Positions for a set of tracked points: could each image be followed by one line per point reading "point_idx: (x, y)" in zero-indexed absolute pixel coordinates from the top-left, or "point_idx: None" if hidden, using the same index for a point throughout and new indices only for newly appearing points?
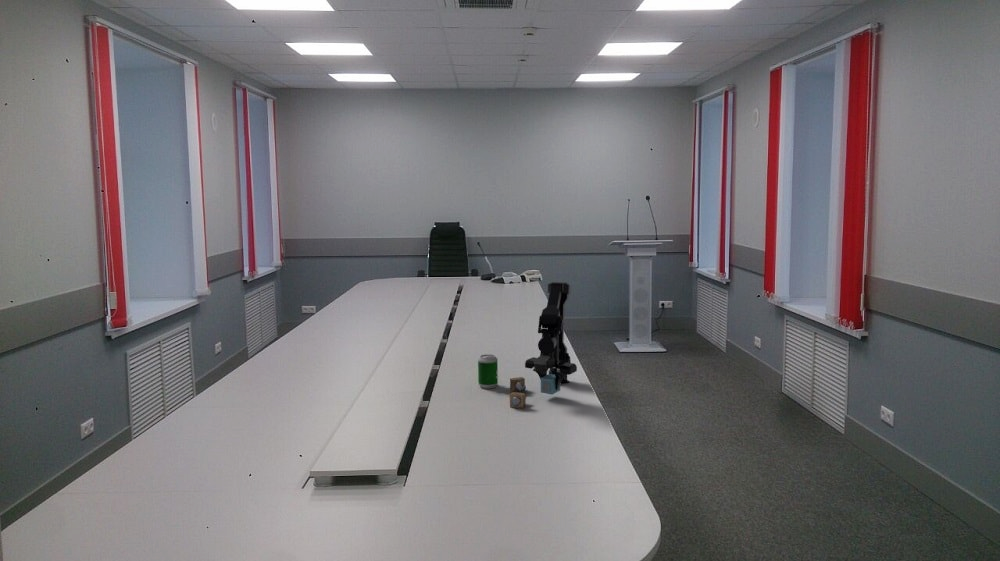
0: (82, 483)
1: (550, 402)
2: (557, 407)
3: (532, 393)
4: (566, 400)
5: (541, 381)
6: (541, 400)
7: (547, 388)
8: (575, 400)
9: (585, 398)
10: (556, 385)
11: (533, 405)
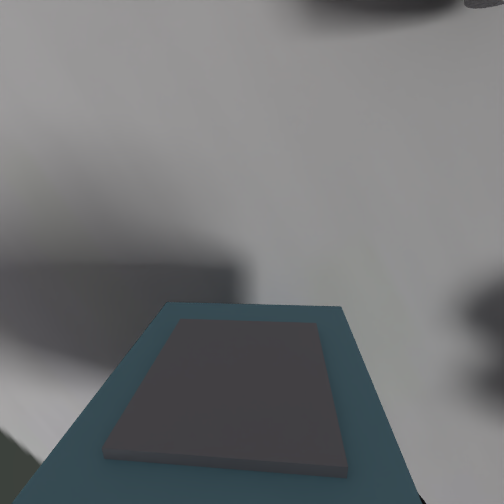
0: None
1: (192, 236)
2: (44, 136)
3: (483, 378)
4: (114, 349)
5: (382, 469)
6: (303, 244)
7: (216, 343)
8: (62, 378)
9: (42, 439)
10: None
11: (298, 27)
